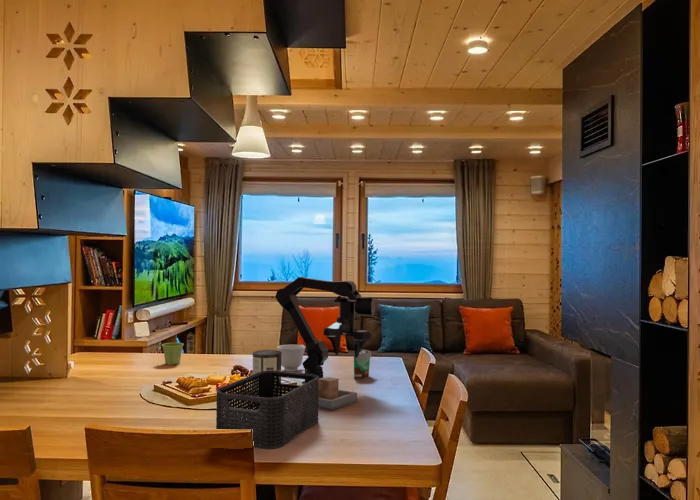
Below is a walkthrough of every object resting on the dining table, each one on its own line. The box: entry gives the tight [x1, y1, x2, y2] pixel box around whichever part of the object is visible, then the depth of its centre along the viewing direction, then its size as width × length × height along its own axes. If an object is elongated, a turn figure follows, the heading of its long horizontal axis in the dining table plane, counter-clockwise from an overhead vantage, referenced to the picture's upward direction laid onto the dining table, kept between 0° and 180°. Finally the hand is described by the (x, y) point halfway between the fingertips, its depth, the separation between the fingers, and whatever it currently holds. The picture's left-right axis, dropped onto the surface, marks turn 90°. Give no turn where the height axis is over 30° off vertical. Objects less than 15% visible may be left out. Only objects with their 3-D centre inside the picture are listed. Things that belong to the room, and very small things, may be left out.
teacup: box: [276, 343, 306, 373], centre depth 237 cm, size 12×15×10 cm
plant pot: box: [161, 342, 185, 366], centre depth 247 cm, size 9×9×9 cm
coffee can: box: [252, 349, 282, 392], centre depth 197 cm, size 10×10×14 cm
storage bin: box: [215, 370, 319, 450], centre depth 154 cm, size 29×19×13 cm
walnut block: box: [318, 376, 340, 400], centre depth 183 cm, size 5×5×7 cm
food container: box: [353, 348, 373, 380], centre depth 225 cm, size 12×6×10 cm, turn 168°
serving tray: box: [318, 388, 358, 412], centre depth 183 cm, size 14×14×3 cm
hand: (346, 356), depth 208 cm, fingers open, 9 cm apart
